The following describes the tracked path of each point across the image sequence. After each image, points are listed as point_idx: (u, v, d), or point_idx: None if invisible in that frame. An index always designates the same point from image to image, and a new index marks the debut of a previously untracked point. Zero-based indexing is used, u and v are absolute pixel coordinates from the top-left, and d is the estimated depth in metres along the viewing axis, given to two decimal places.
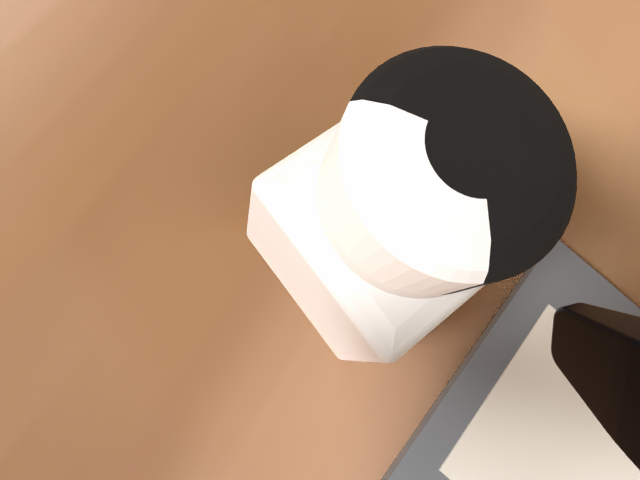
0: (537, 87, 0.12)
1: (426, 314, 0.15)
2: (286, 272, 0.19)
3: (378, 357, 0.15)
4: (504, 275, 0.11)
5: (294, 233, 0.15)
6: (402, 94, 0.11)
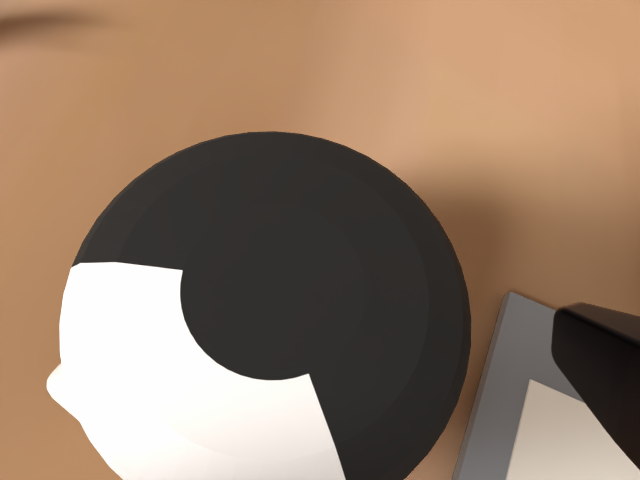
0: (360, 159, 0.08)
1: None
2: None
3: None
4: None
5: None
6: (136, 237, 0.07)
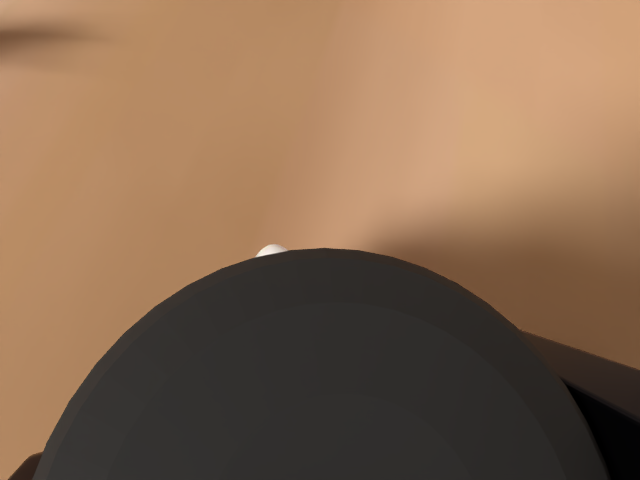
0: (455, 298, 0.06)
1: None
2: None
3: None
4: None
5: None
6: (127, 463, 0.04)
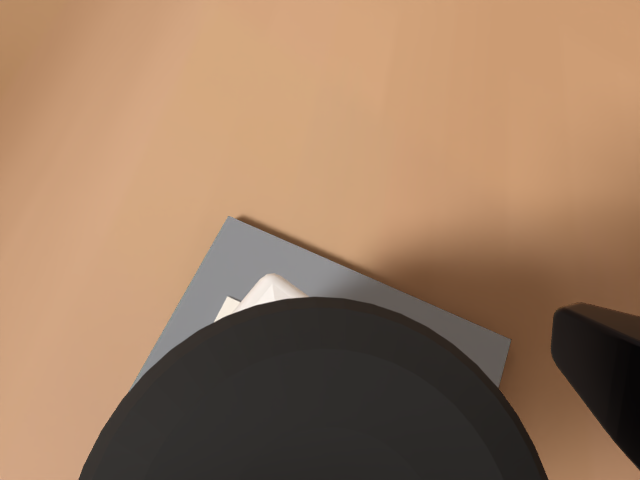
0: (423, 342, 0.07)
1: None
2: None
3: None
4: None
5: None
6: None
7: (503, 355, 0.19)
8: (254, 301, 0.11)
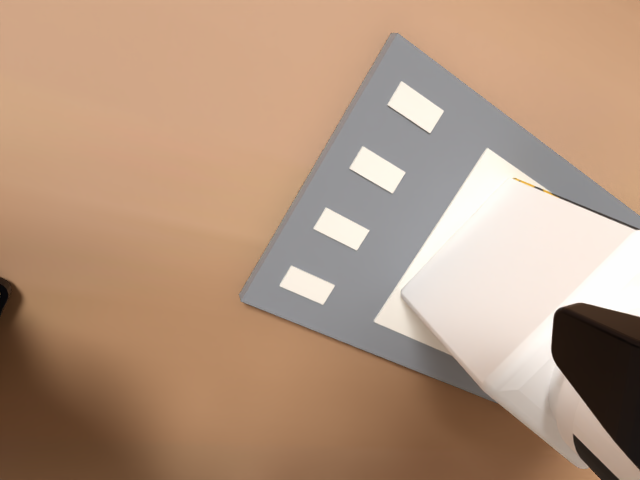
0: None
1: (528, 408, 0.16)
2: (502, 242, 0.19)
3: (486, 377, 0.16)
4: None
5: (598, 283, 0.15)
6: None
7: None
8: None
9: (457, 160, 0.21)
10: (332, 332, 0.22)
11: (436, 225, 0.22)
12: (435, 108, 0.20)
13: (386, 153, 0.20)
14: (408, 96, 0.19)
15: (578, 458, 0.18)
